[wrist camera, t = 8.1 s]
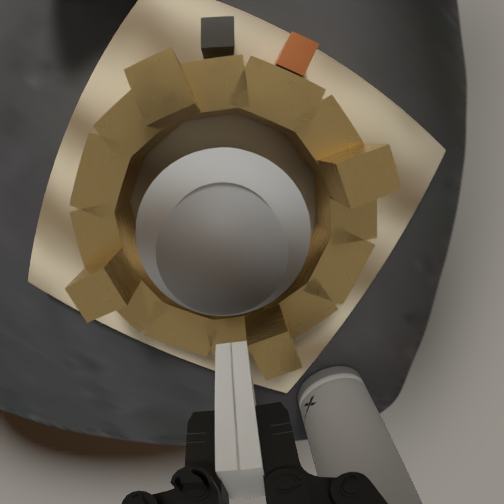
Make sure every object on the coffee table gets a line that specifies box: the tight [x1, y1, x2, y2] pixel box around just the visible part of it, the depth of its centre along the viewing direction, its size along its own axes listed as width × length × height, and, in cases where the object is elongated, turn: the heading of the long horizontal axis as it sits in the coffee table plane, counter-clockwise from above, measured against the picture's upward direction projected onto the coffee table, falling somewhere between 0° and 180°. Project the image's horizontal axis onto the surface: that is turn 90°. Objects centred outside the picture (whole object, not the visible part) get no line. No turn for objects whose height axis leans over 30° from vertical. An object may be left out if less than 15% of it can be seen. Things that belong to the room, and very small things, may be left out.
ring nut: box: [65, 31, 402, 380], centre depth 14 cm, size 16×18×5 cm
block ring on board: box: [28, 0, 446, 393], centre depth 14 cm, size 22×22×10 cm
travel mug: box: [297, 366, 422, 504], centre depth 16 cm, size 6×7×20 cm
